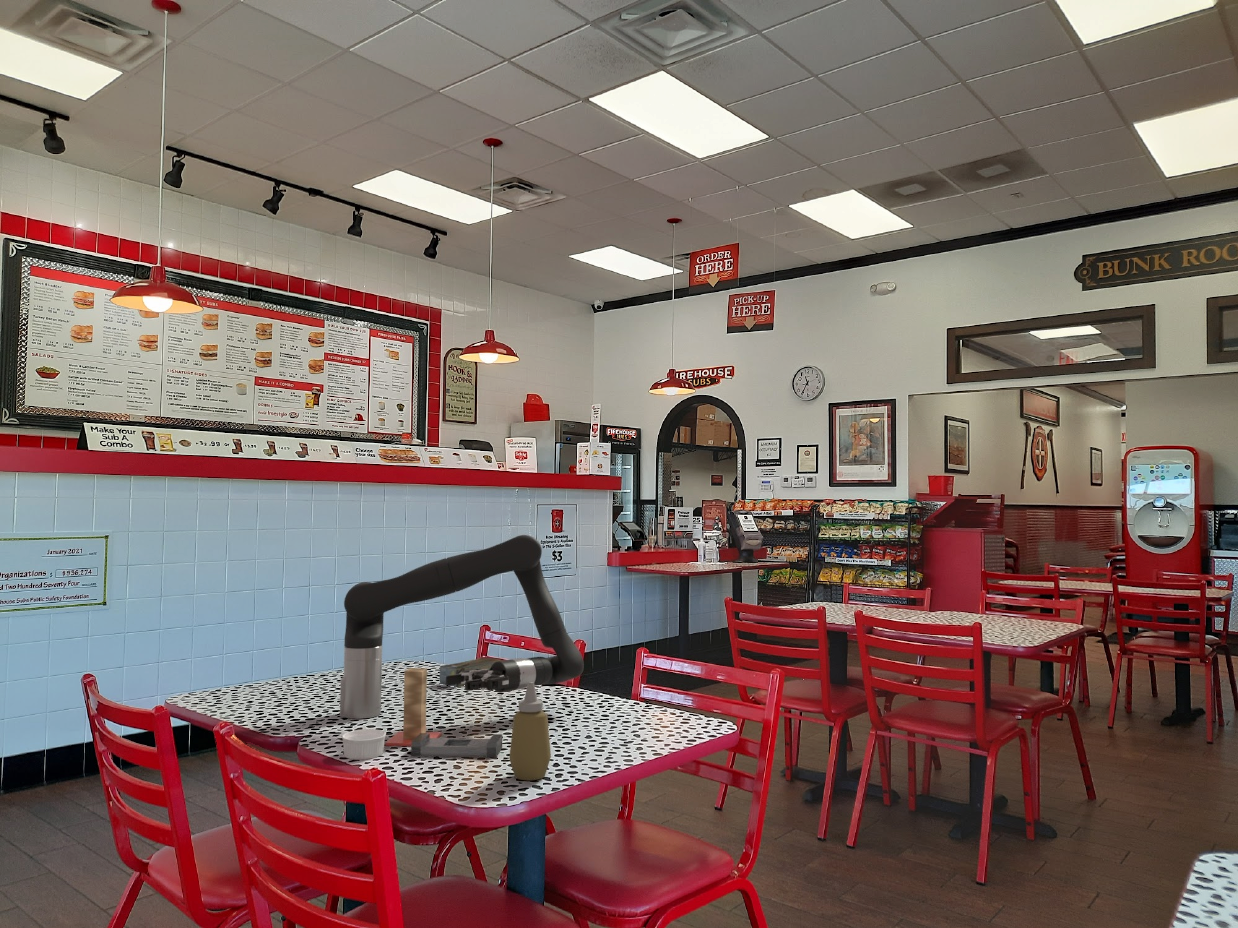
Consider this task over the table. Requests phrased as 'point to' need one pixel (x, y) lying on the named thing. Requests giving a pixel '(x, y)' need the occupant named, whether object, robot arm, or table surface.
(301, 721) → the table surface
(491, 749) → the grey piece
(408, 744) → the red coaster
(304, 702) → the table surface
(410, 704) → the oak peg
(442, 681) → the beverage carton
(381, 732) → the ramekin
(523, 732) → the squeeze bottle
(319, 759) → the table surface
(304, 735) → the table surface
